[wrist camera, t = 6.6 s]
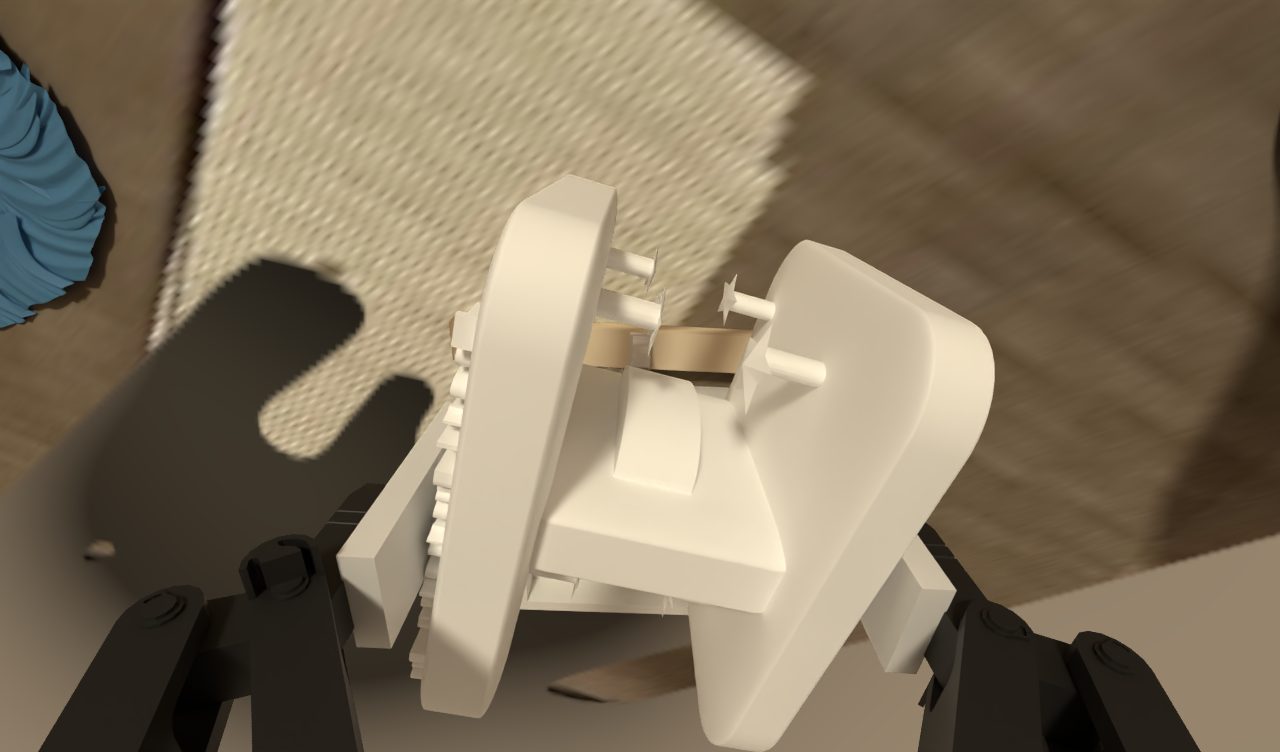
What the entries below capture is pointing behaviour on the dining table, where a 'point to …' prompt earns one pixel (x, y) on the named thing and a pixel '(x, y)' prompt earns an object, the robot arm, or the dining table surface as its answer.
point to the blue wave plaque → (40, 199)
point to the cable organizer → (689, 462)
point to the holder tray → (601, 584)
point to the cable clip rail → (663, 347)
